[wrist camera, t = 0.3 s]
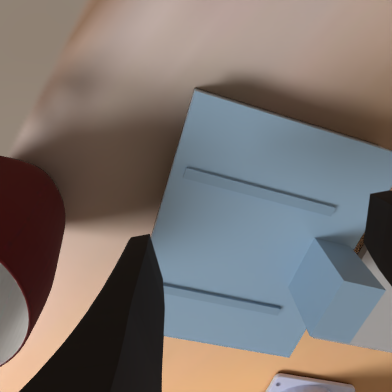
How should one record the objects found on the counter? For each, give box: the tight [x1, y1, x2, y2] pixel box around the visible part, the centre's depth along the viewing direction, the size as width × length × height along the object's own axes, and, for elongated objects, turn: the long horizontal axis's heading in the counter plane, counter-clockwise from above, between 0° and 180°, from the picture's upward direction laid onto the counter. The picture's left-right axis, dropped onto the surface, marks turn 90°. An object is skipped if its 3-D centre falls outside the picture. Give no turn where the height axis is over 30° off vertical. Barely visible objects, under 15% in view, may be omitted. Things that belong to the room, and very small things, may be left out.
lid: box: [151, 89, 392, 357], centre depth 20 cm, size 16×12×5 cm
